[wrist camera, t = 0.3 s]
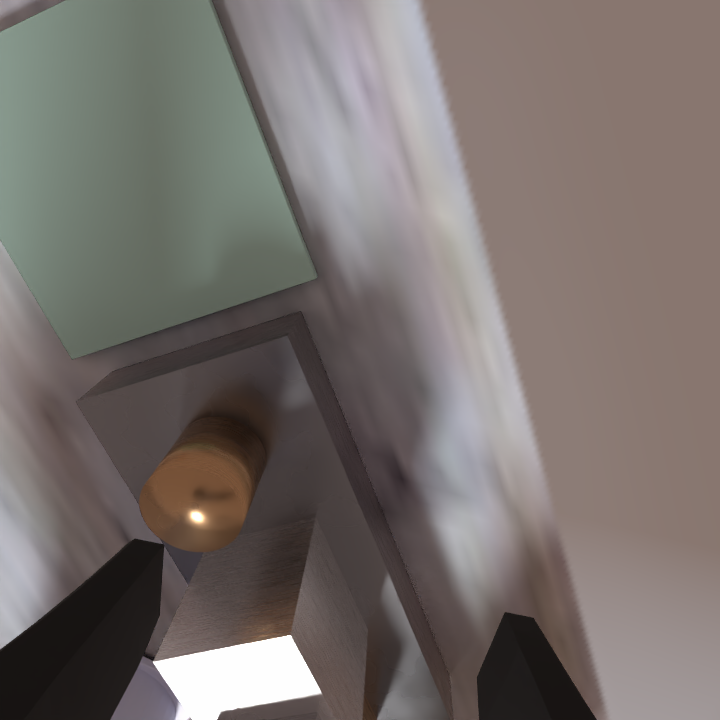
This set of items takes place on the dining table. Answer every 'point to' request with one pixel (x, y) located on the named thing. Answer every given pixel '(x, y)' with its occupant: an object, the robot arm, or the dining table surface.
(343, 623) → the lever cap
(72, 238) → the mat
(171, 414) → the hand plane
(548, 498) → the dining table surface
